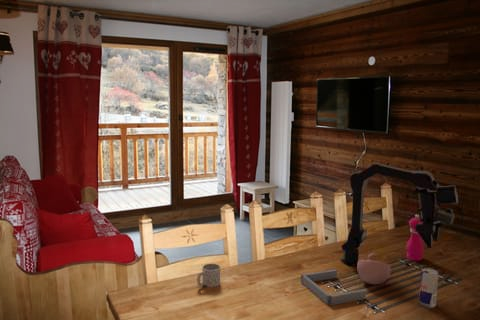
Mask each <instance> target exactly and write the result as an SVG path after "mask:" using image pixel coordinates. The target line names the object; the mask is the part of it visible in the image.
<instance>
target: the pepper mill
mask: <svg viewBox="0 0 480 320" xmlns="http://www.w3.org/2000/svg"><path fill="white" fill-rule="evenodd" d="M420 219H421V218H420V215H419V214H415V217H412V218H410V220H409V226H410V228H409V232H410V238H409V240H408V241H407V243H406V246H405V249H406V251H407V253H406V258H407V259H408V260H411V261H415V262H419V261H421V260H422V259H423V255H422V254H423V253H424V252H425V249H424V244H423V242H422V238H421V236H420V235H419V233H417V232H416V230H415V226H416V225H417V224H418V223H419V222H420Z"/></svg>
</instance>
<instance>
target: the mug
mask: <svg viewBox="0 0 480 320" xmlns="http://www.w3.org/2000/svg"><path fill="white" fill-rule="evenodd" d="M201 278H202V281H201ZM196 283H197V286H200V287H201V286H203V285H205V286H207V287H206V288H210V287H211V288H217V287H219V286H220V285H221V266H220V265H219V264H218V263H206V264H203V266H202V270H201V272H199V273H198V274H197V277H196ZM205 286H203V287H205ZM216 286H217V287H216Z"/></svg>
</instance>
